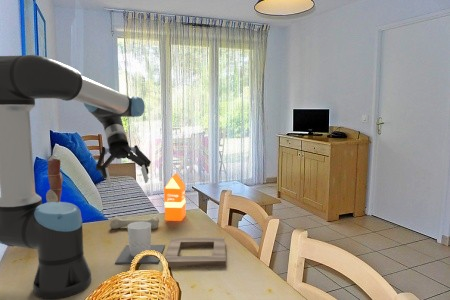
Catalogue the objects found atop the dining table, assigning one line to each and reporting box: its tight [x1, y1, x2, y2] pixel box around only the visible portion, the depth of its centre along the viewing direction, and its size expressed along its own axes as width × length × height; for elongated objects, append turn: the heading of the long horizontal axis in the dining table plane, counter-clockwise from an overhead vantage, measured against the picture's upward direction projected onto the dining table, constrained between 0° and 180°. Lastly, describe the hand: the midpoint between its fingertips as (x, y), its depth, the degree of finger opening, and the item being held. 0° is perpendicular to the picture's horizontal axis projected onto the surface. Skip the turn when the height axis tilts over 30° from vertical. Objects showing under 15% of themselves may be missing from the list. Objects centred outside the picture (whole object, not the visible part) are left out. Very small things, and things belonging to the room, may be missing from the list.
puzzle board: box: [164, 236, 227, 269], centre depth 121 cm, size 20×20×2 cm
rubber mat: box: [114, 244, 165, 265], centre depth 121 cm, size 14×14×1 cm
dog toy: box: [109, 215, 160, 230], centre depth 147 cm, size 20×6×5 cm, turn 91°
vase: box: [45, 158, 64, 203], centre depth 143 cm, size 10×7×30 cm
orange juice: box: [163, 172, 187, 222], centre depth 159 cm, size 8×9×20 cm
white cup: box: [126, 221, 152, 257], centre depth 120 cm, size 8×8×10 cm
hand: (128, 182), depth 127 cm, fingers open, 13 cm apart
